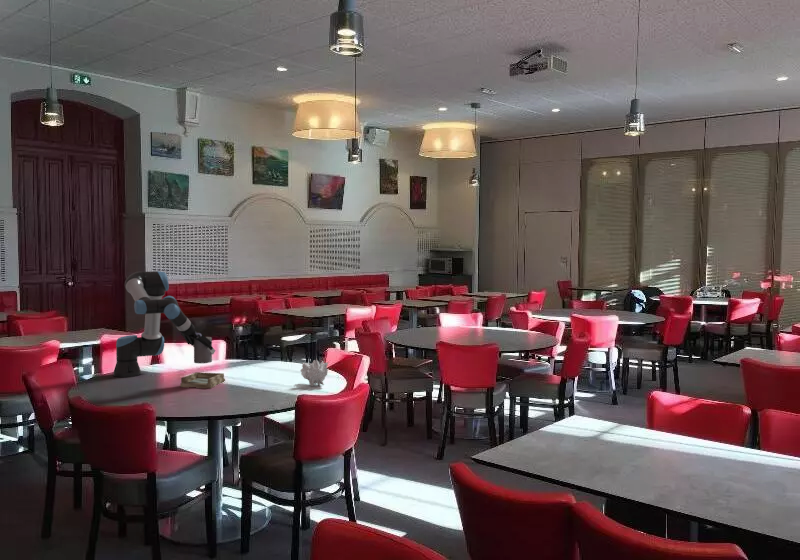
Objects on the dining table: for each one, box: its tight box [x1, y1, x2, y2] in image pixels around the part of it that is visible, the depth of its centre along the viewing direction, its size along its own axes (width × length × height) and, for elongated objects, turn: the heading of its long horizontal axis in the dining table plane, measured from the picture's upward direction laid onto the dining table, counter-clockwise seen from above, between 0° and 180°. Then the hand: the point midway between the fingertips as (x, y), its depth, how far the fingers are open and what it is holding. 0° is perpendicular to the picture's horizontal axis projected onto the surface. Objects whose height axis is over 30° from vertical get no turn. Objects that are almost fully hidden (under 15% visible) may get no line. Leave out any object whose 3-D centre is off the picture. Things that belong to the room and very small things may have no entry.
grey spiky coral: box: [300, 357, 329, 387], centre depth 373 cm, size 20×17×15 cm
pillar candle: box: [193, 336, 213, 364], centre depth 372 cm, size 10×10×15 cm
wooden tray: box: [179, 372, 226, 389], centre depth 373 cm, size 18×18×5 cm
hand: (207, 351), depth 374 cm, fingers closed on pillar candle, 9 cm apart
